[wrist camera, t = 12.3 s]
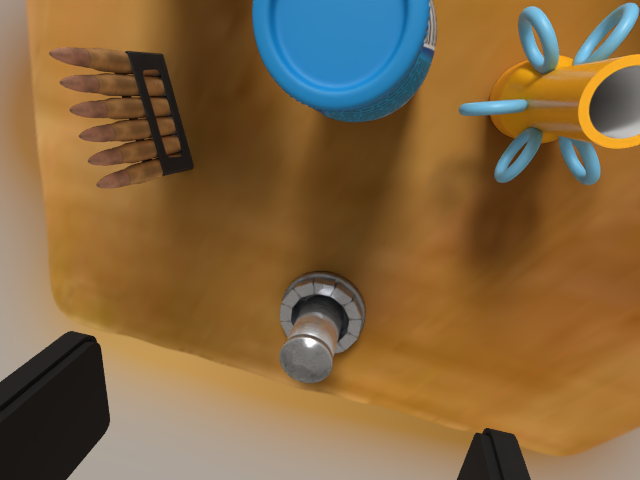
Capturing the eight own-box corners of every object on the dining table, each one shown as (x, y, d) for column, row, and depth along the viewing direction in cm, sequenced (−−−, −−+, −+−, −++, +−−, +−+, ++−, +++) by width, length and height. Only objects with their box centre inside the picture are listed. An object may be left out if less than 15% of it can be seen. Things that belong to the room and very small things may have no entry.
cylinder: (532, 196, 34) (624, 265, 20) (429, 136, 33) (449, 164, 20) (642, 59, 29) (867, 23, 15) (522, -11, 29) (635, -111, 15)
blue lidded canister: (392, 131, 34) (382, 172, 16) (307, 87, 34) (198, 76, 16) (444, 33, 31) (511, -63, 12) (350, -15, 31) (277, -183, 12)
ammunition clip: (194, 168, 39) (112, 196, 28) (178, 171, 39) (91, 199, 28) (163, 53, 36) (55, 34, 24) (145, 58, 36) (32, 40, 25)
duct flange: (268, 311, 43) (261, 321, 41) (314, 254, 39) (309, 263, 37) (331, 358, 44) (328, 371, 41) (382, 306, 40) (382, 318, 38)
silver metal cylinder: (303, 289, 40) (281, 333, 33) (347, 298, 40) (335, 344, 32) (299, 327, 42) (277, 376, 35) (341, 336, 41) (328, 388, 34)
